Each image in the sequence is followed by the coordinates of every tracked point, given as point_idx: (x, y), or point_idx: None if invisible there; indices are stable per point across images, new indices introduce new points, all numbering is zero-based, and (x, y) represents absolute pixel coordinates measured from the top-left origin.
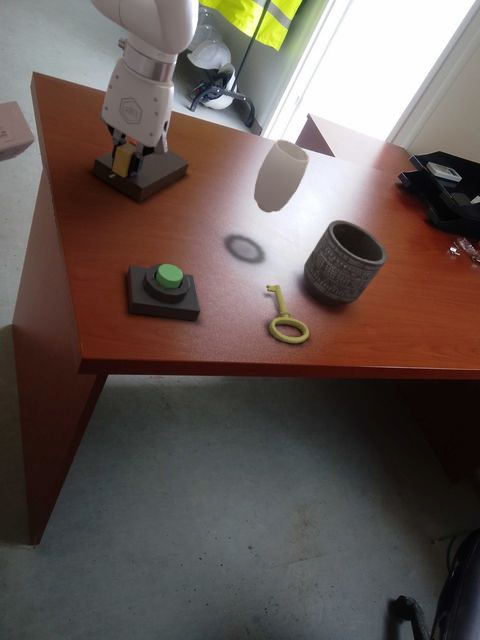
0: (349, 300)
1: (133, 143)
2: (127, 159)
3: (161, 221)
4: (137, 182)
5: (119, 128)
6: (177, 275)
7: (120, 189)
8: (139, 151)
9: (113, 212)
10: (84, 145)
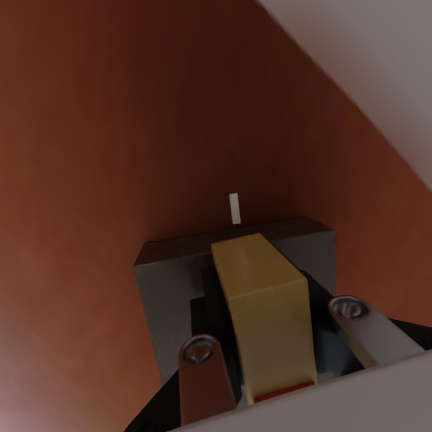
0: None
1: None
2: (224, 281)
3: (33, 240)
4: (169, 274)
5: (429, 374)
6: None
7: (211, 232)
8: (198, 369)
9: (132, 121)
10: (396, 288)
